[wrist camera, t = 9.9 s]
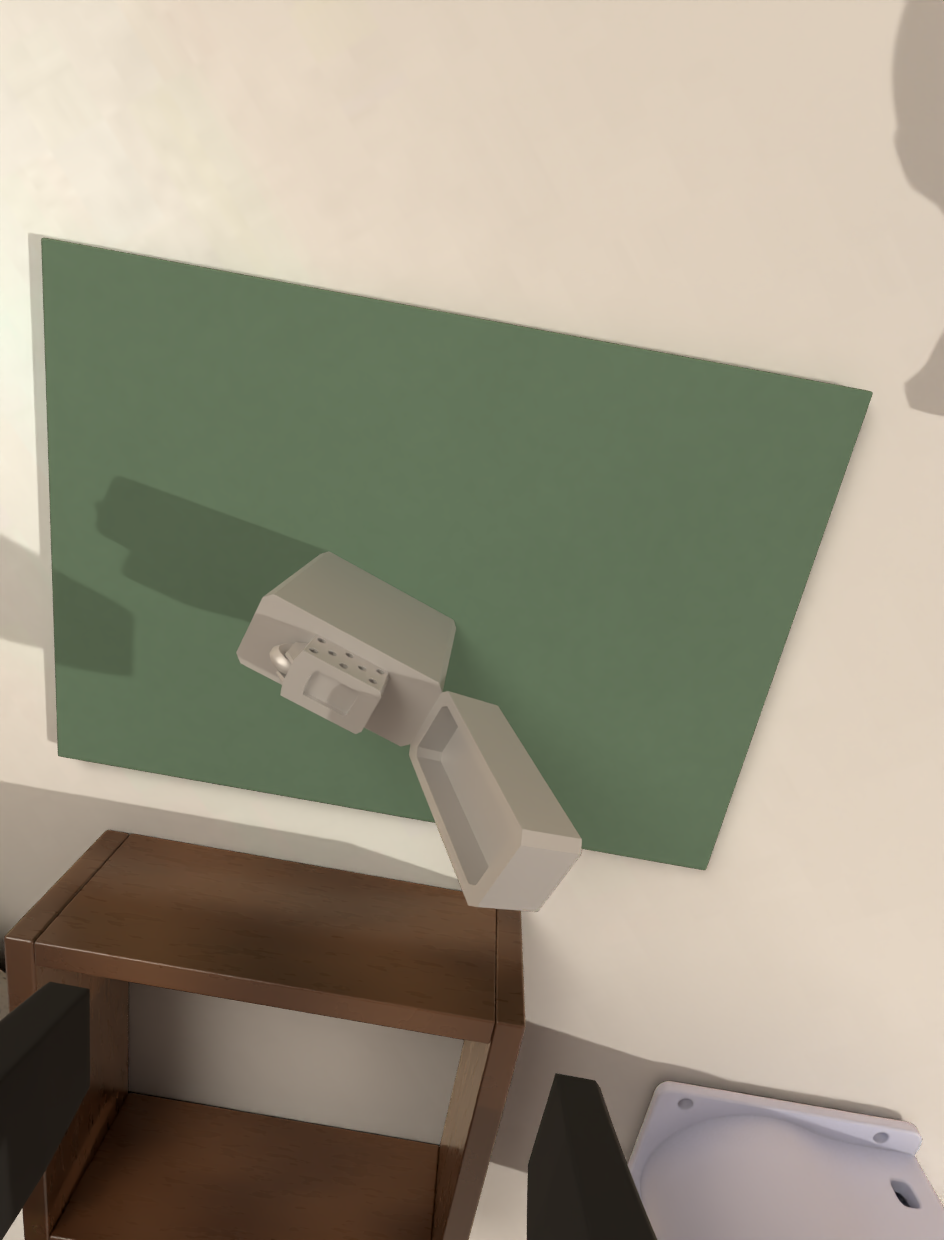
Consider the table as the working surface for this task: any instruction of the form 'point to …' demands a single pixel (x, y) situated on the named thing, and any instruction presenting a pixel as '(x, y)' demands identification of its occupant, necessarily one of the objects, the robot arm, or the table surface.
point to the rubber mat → (422, 535)
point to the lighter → (417, 722)
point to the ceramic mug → (3, 995)
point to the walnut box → (279, 977)
